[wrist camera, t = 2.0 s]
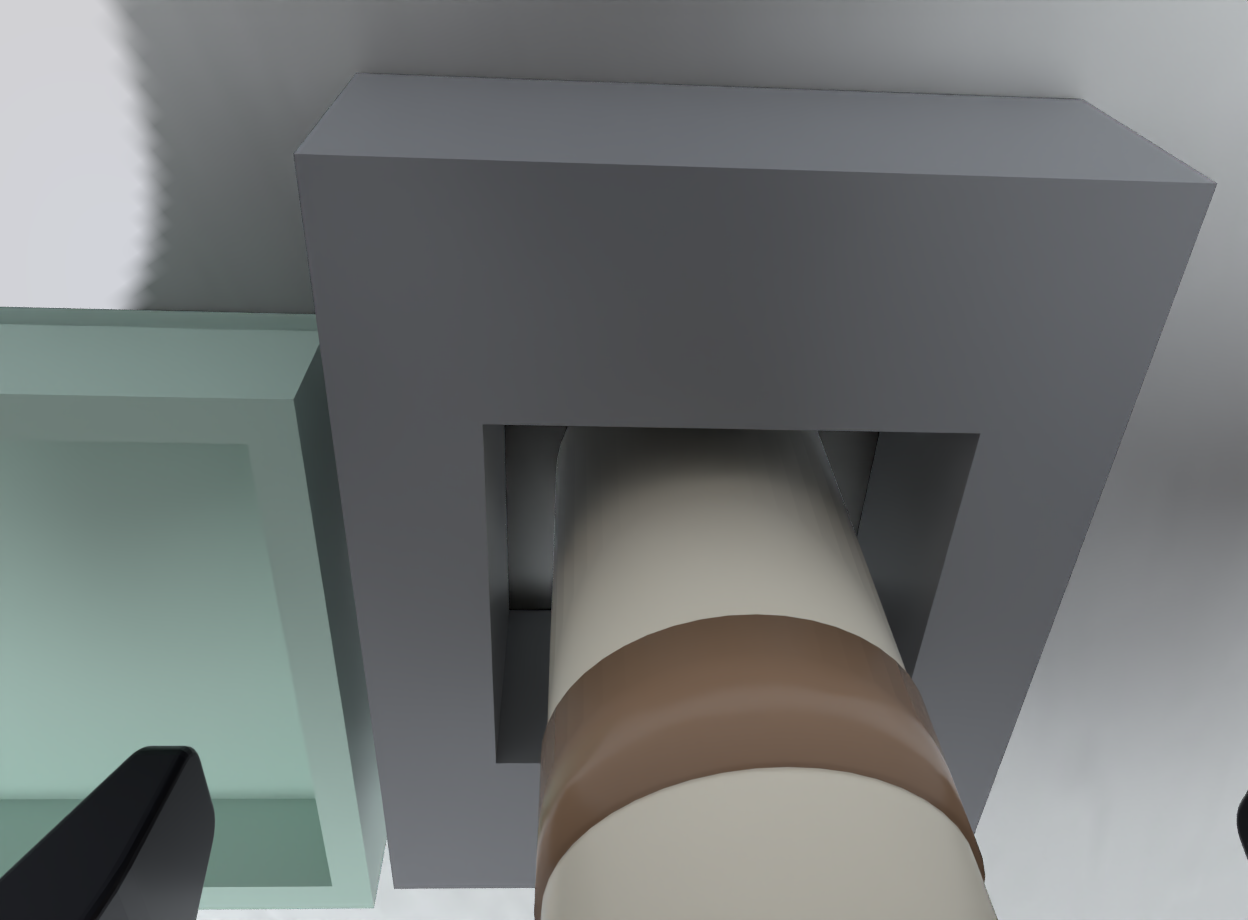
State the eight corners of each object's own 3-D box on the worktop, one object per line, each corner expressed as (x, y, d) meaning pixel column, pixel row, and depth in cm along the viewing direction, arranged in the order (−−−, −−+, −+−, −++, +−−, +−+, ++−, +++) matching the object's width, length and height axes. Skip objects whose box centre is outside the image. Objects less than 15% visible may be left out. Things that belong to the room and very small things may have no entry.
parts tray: (393, 798, 15) (373, 908, 14) (-158, 799, 15) (-241, 913, 13) (332, 314, 11) (293, 399, 9) (-456, 296, 10) (-629, 381, 9)
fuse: (805, 579, 13) (1033, 1388, 7) (551, 577, 13) (522, 1406, 6) (846, 354, 11) (1222, 1157, 5) (552, 347, 11) (512, 1174, 5)
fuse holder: (901, 735, 15) (953, 889, 13) (421, 734, 15) (394, 893, 12) (1083, 98, 10) (1217, 183, 8) (356, 73, 10) (293, 154, 7)
